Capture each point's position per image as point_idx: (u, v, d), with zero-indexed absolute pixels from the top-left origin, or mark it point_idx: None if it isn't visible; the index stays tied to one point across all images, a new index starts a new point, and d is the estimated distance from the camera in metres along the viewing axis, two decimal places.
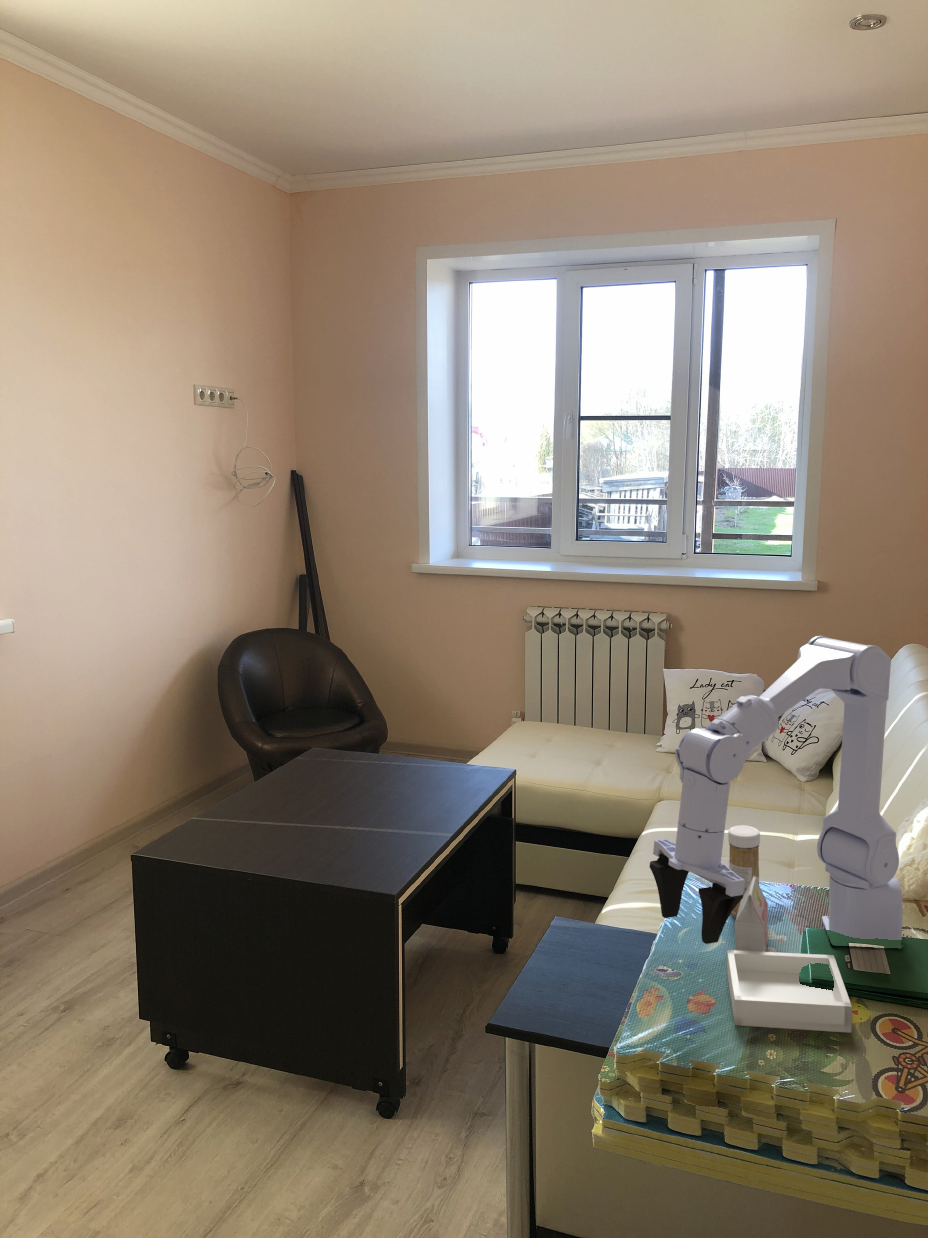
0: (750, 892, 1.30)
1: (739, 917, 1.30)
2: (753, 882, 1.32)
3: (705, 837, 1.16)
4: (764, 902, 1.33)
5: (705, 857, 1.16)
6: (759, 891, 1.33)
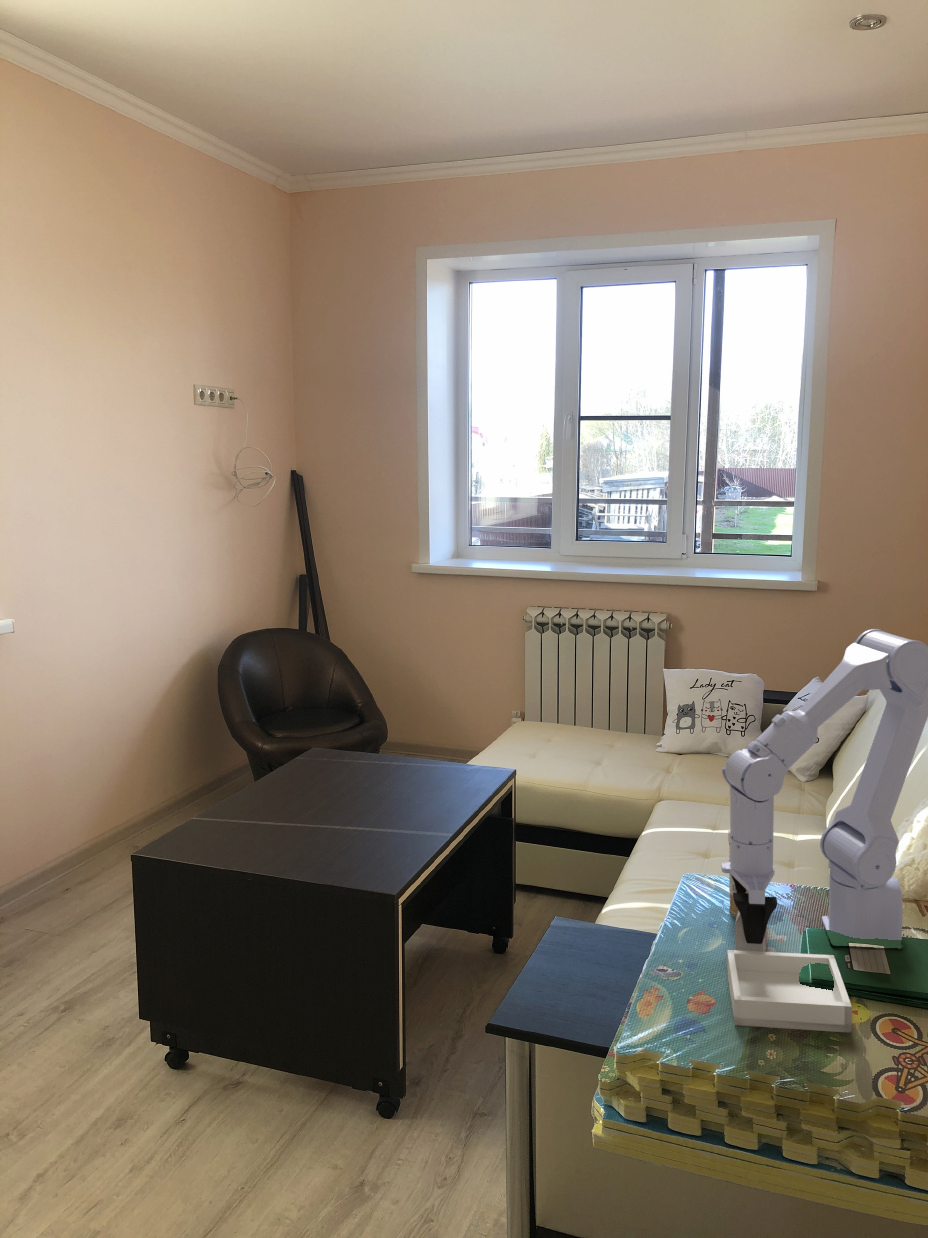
0: None
1: (739, 918, 1.30)
2: None
3: (742, 848, 1.28)
4: None
5: (743, 865, 1.28)
6: None
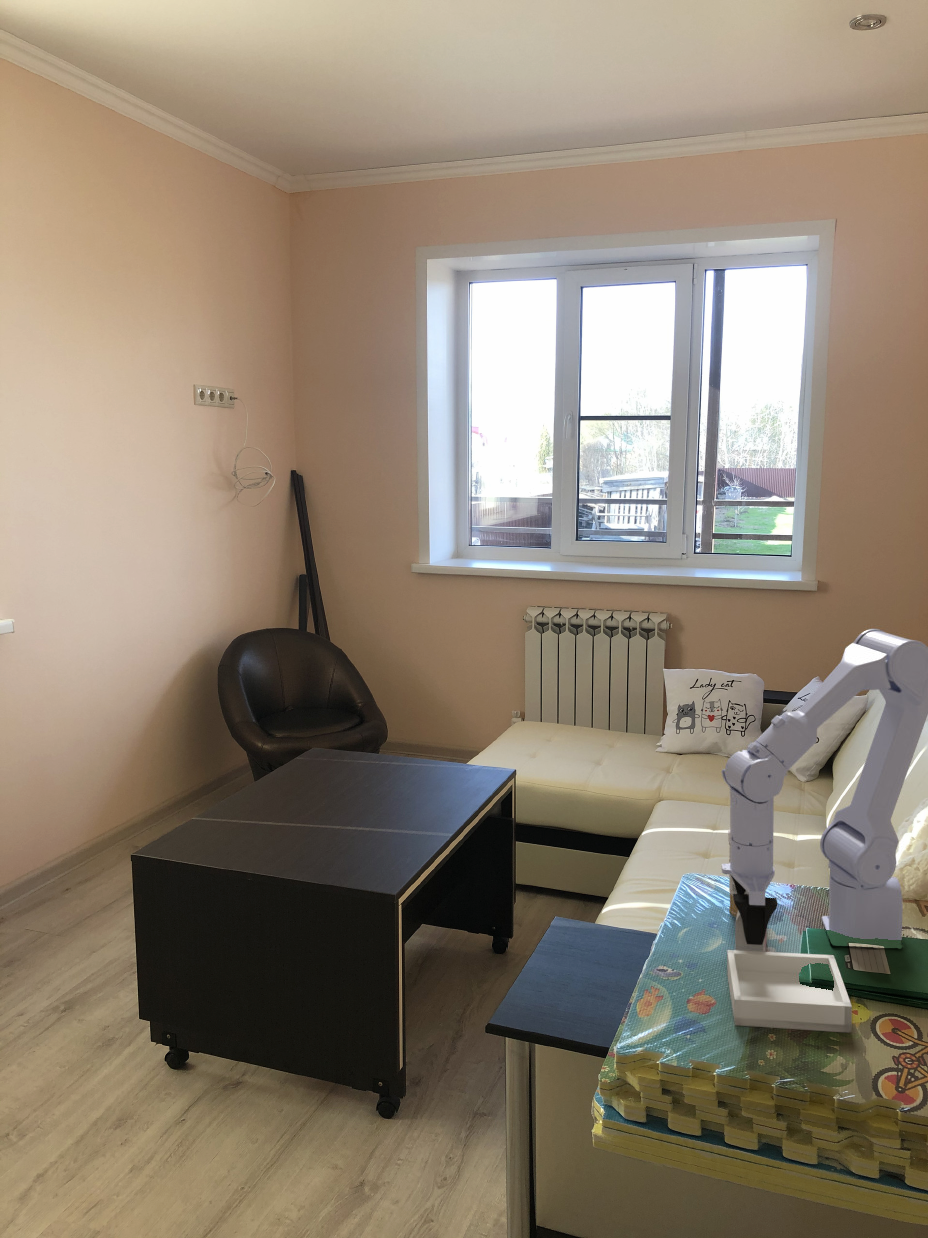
0: None
1: (739, 917, 1.29)
2: None
3: (742, 849, 1.28)
4: None
5: (744, 866, 1.28)
6: None
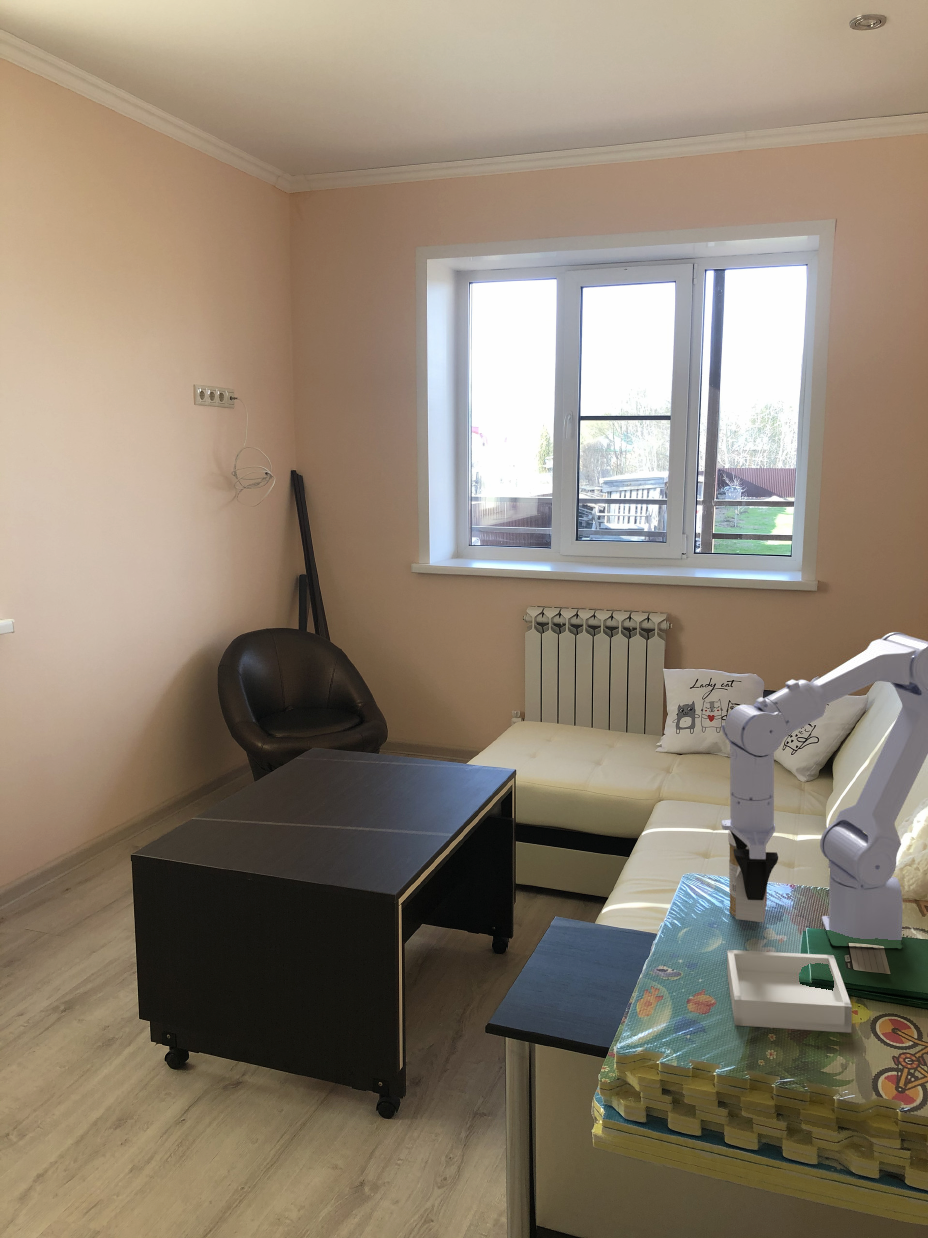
0: None
1: (740, 873, 1.28)
2: None
3: (742, 803, 1.27)
4: None
5: (744, 821, 1.27)
6: None
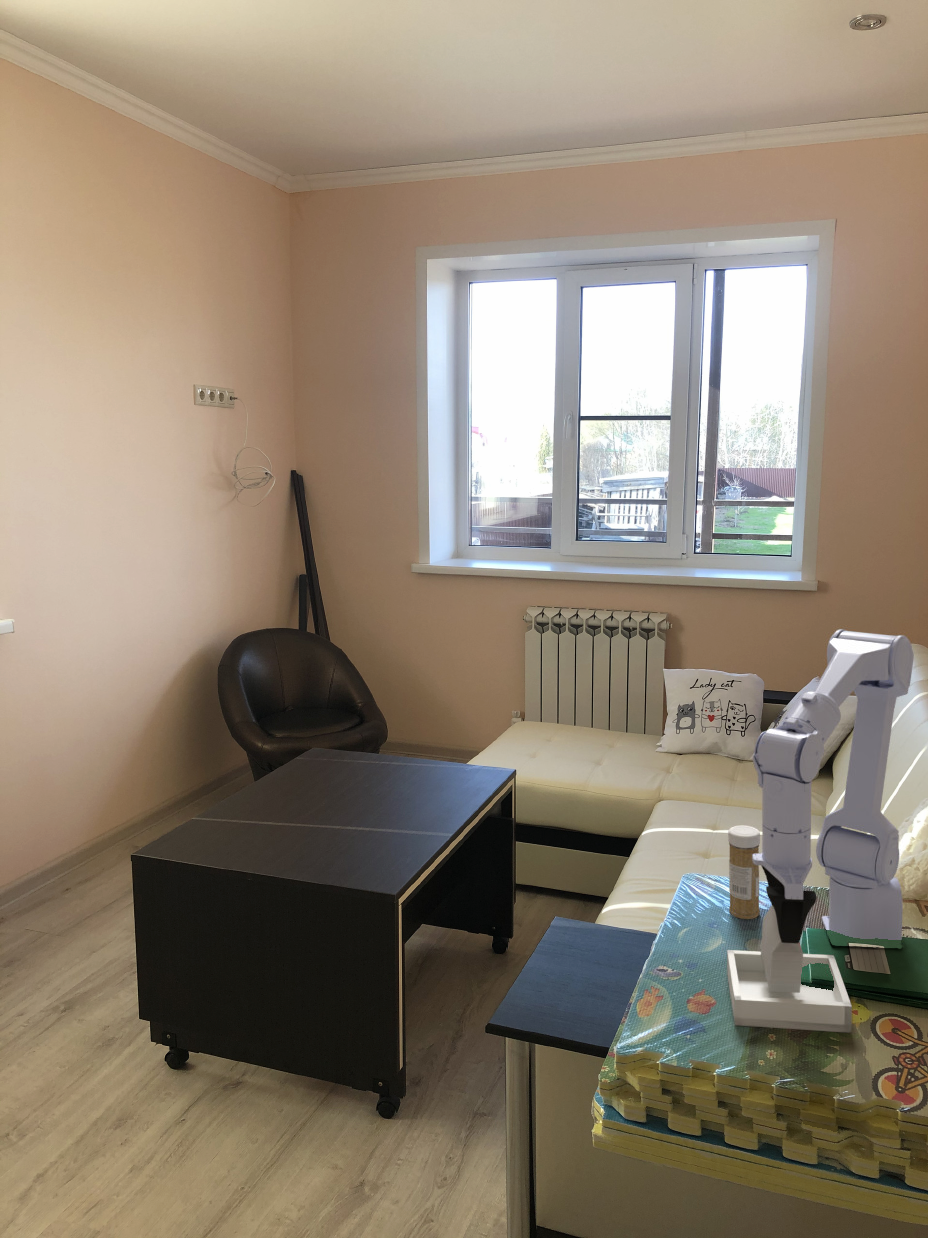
0: None
1: (777, 947, 1.17)
2: None
3: (776, 837, 1.15)
4: None
5: (778, 856, 1.15)
6: None
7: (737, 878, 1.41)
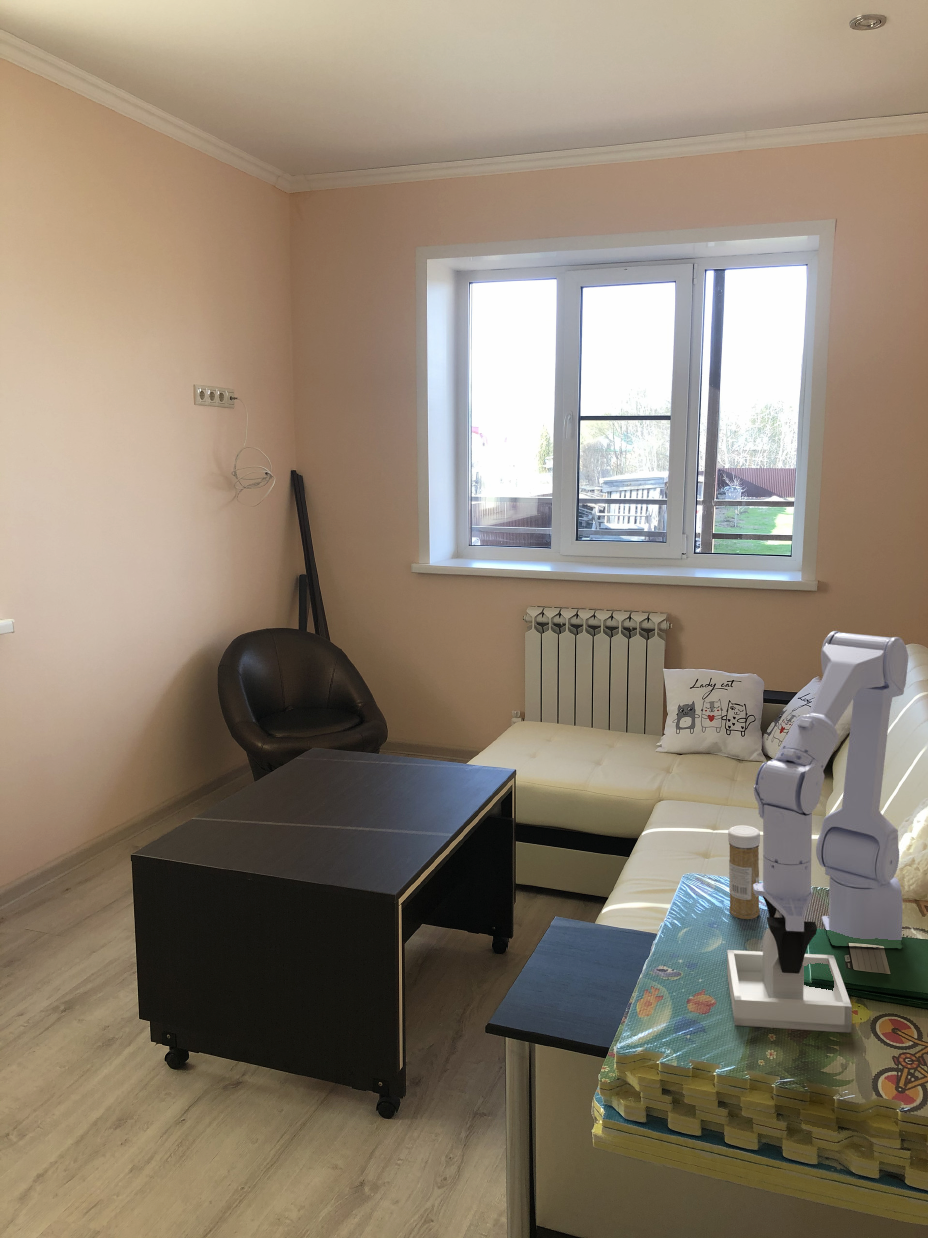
0: None
1: (777, 960, 1.17)
2: None
3: (777, 868, 1.15)
4: None
5: (779, 887, 1.16)
6: None
7: (737, 878, 1.41)
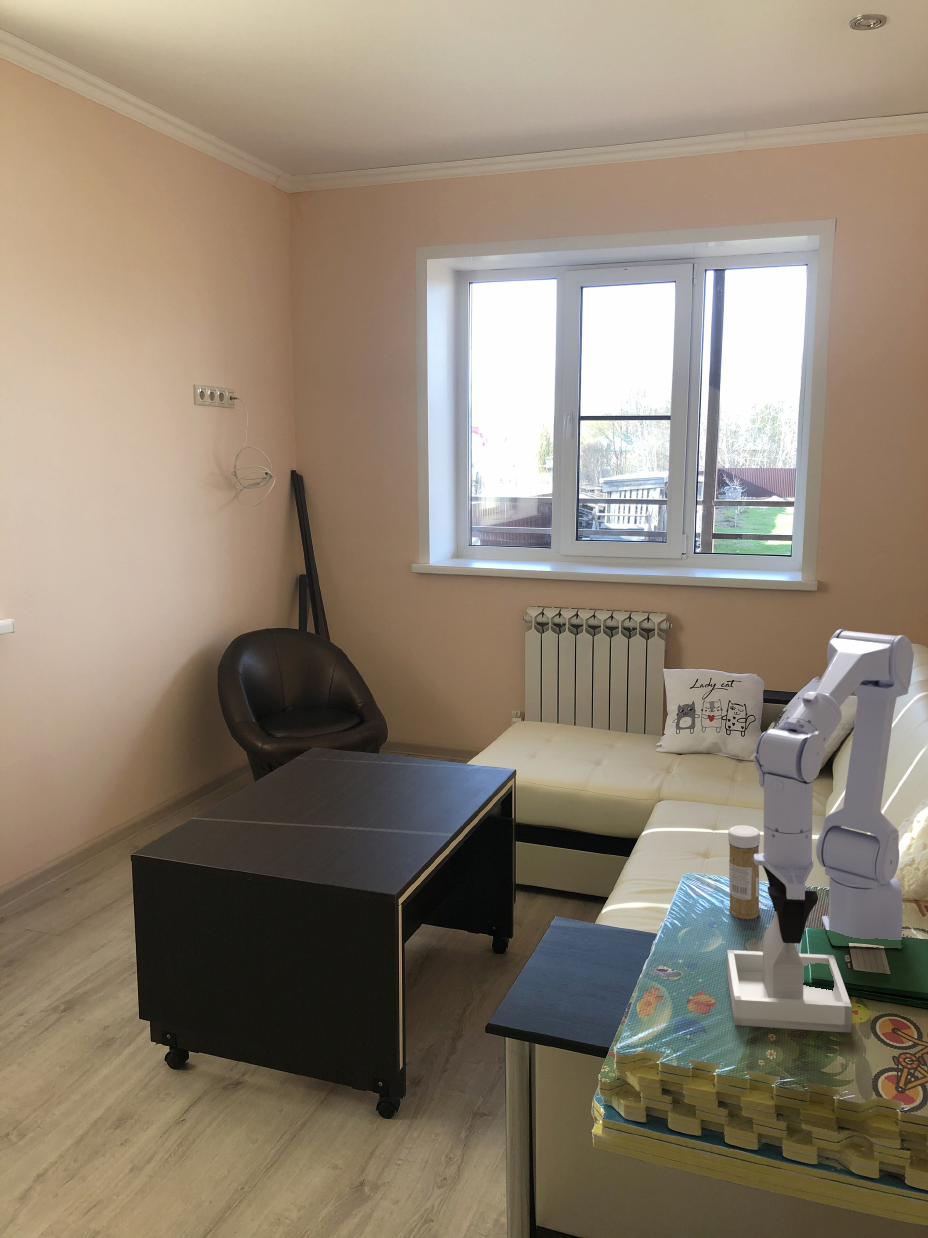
0: None
1: (777, 959, 1.17)
2: None
3: (778, 837, 1.15)
4: None
5: (779, 856, 1.15)
6: None
7: (737, 878, 1.41)
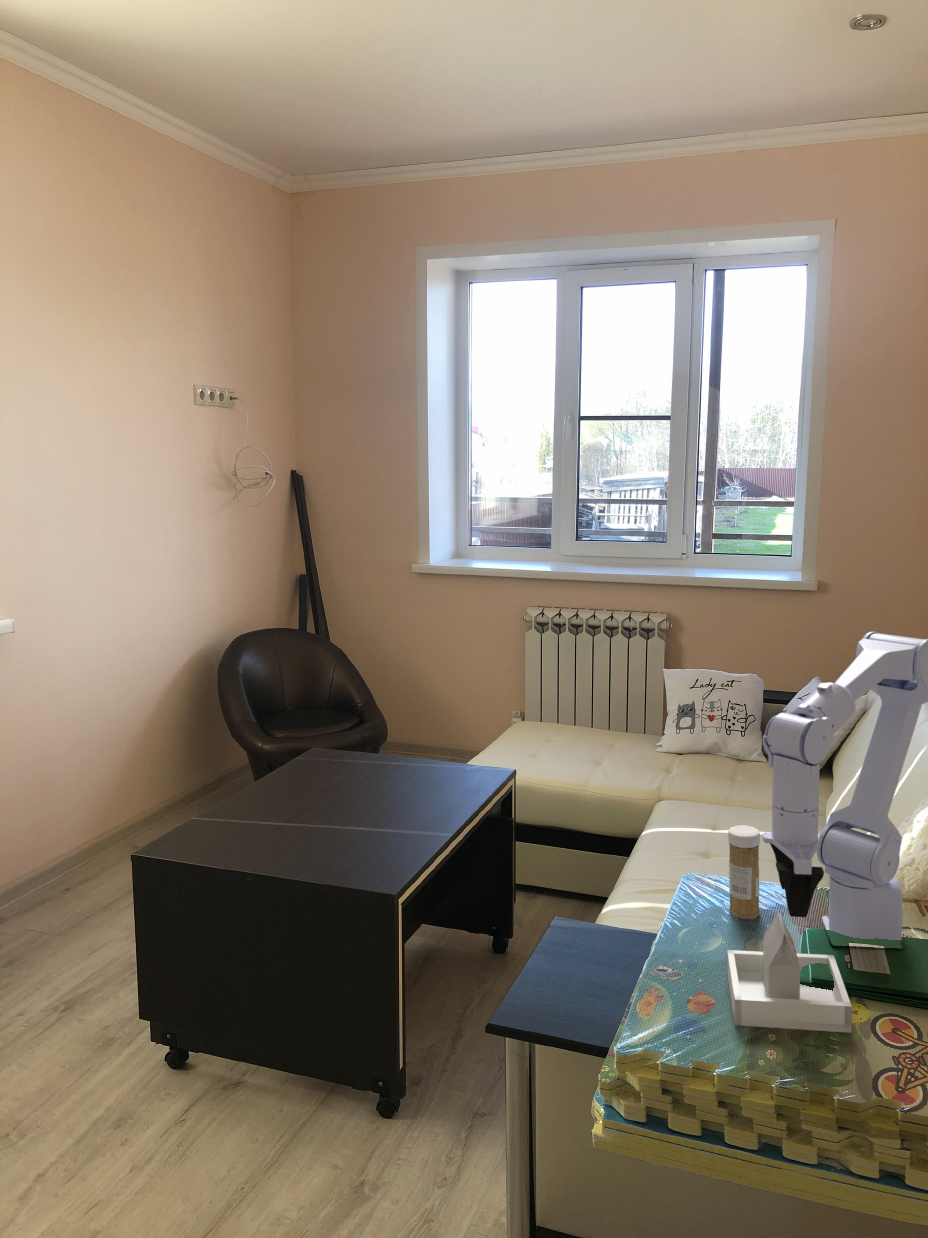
0: (783, 930, 1.17)
1: (773, 960, 1.17)
2: (781, 919, 1.20)
3: (786, 816, 1.21)
4: (791, 939, 1.21)
5: (787, 834, 1.21)
6: (785, 927, 1.21)
7: (737, 878, 1.41)
